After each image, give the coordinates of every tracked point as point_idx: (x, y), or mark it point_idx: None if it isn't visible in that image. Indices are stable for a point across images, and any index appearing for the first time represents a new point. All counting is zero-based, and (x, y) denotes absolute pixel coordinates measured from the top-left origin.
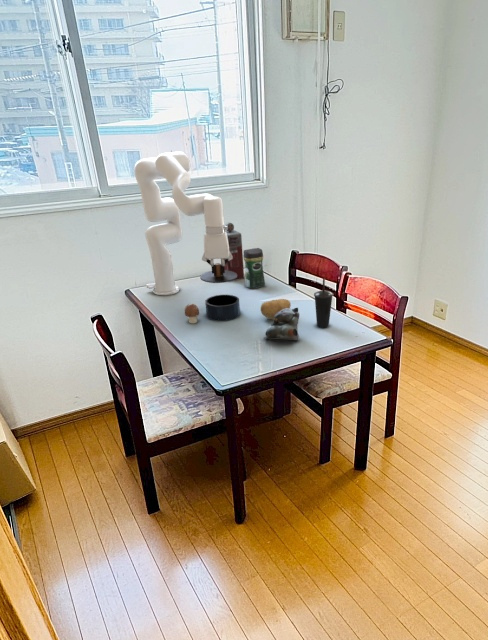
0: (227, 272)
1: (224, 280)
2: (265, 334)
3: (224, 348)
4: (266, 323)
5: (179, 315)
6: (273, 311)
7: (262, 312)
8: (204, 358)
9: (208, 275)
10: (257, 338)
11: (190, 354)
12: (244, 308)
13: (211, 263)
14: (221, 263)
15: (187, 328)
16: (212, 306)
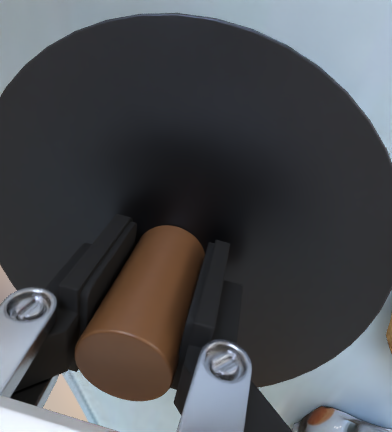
0: (306, 186)
1: None
2: (307, 423)
3: (166, 399)
4: (378, 320)
5: (9, 61)
6: None
7: (386, 335)
8: (109, 414)
9: (62, 201)
10: (281, 396)
11: (75, 385)
12: (381, 98)
13: (12, 398)
14: (182, 379)
15: None
16: None
